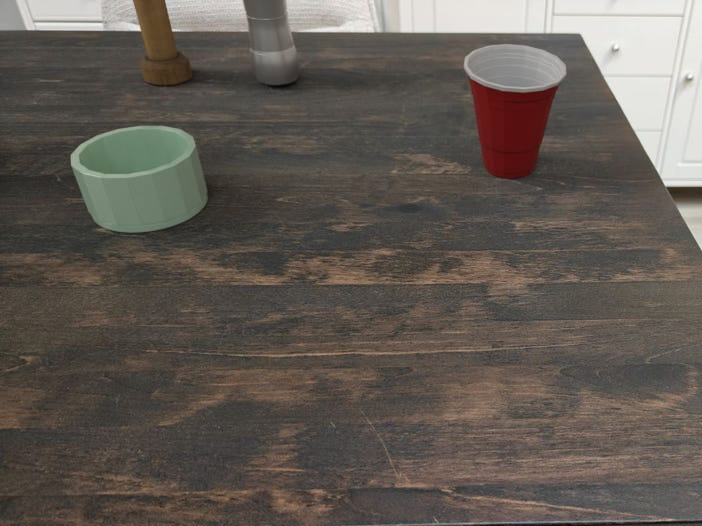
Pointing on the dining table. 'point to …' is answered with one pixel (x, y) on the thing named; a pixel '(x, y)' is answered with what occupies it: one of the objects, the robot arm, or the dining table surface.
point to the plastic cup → (512, 103)
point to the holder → (140, 178)
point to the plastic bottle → (271, 42)
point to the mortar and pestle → (160, 46)
